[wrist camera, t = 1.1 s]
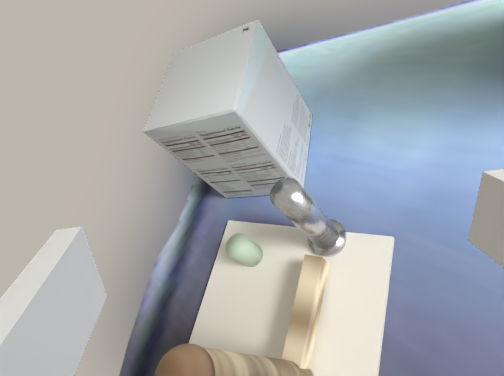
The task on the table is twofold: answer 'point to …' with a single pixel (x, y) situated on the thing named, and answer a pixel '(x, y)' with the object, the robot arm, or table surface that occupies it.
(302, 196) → the hinge post
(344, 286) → the board
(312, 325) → the gate
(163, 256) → the table surface
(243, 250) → the post
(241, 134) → the supplement box
